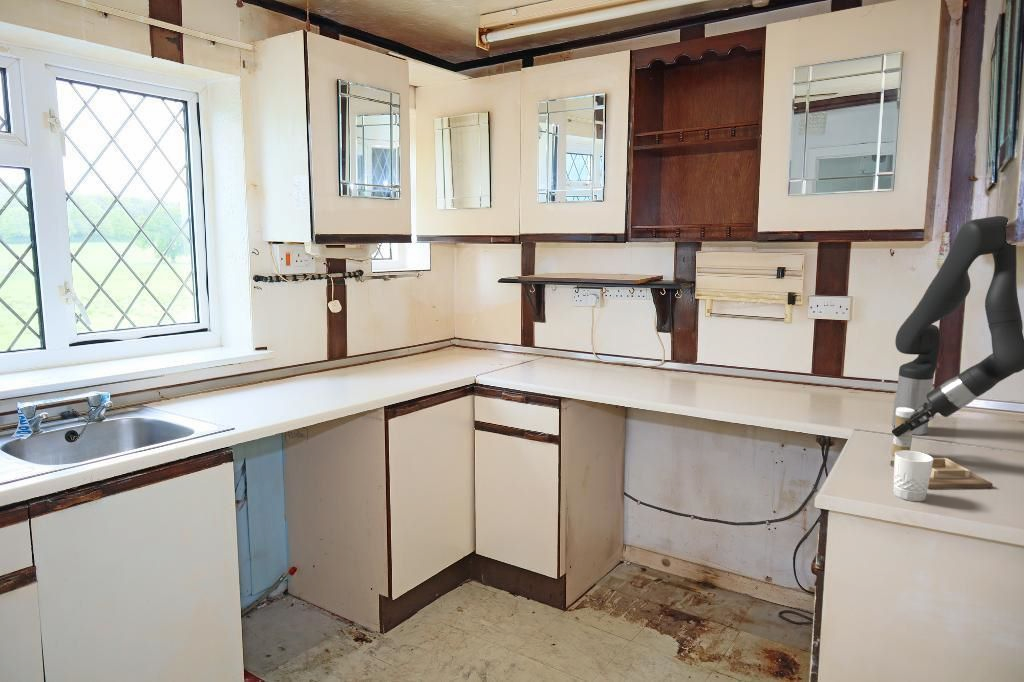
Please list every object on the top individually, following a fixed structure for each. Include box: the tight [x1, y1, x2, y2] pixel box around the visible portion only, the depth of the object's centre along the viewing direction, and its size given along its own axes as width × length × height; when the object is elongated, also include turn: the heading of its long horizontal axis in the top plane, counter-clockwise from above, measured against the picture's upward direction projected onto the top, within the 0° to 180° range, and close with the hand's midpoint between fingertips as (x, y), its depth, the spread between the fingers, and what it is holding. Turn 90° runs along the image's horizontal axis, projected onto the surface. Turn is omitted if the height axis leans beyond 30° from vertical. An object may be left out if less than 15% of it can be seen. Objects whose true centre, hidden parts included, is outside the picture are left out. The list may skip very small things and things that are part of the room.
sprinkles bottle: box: [891, 407, 915, 457], centre depth 189 cm, size 5×5×13 cm
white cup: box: [892, 450, 934, 502], centre depth 162 cm, size 8×8×10 cm
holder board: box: [889, 457, 993, 490], centre depth 175 cm, size 16×16×3 cm
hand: (895, 431), depth 190 cm, fingers closed on sprinkles bottle, 4 cm apart
